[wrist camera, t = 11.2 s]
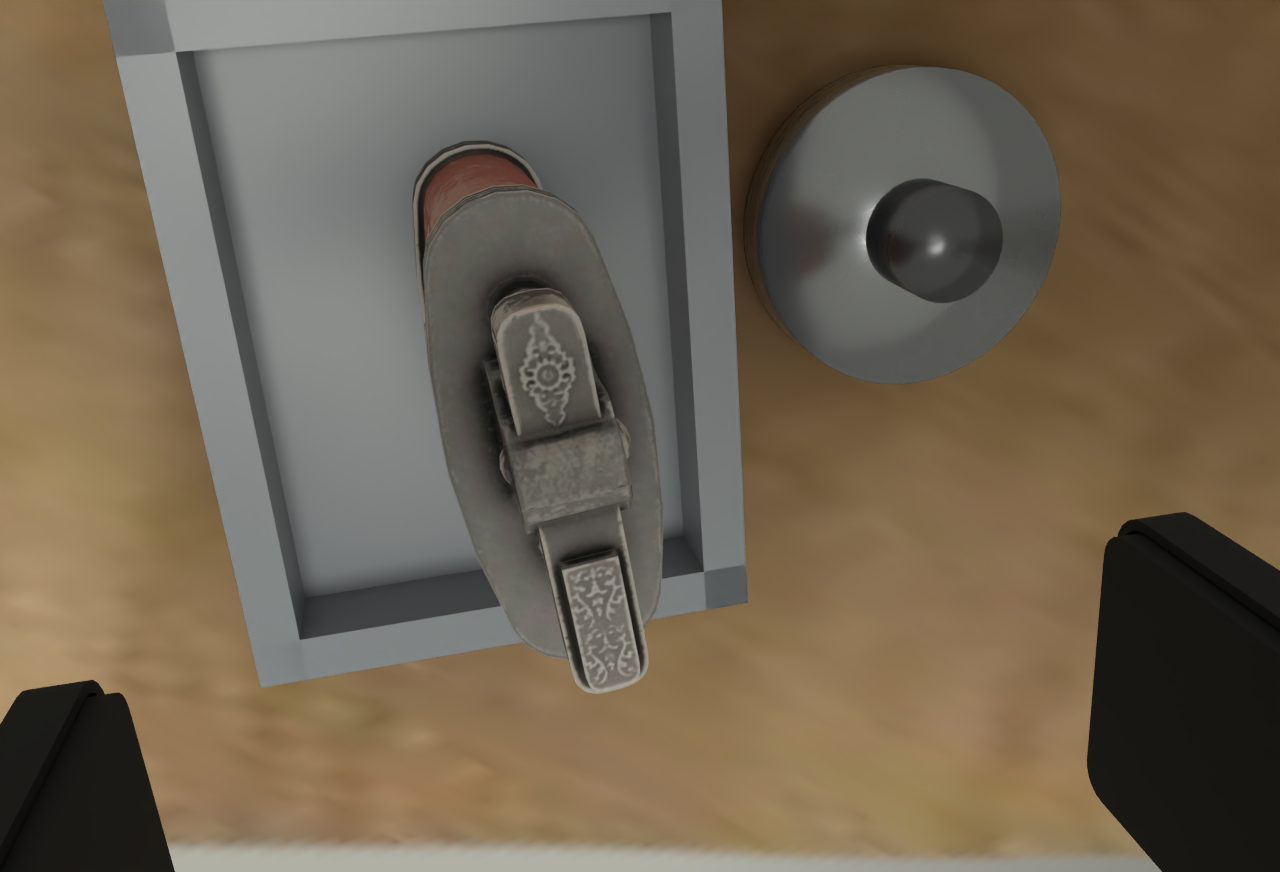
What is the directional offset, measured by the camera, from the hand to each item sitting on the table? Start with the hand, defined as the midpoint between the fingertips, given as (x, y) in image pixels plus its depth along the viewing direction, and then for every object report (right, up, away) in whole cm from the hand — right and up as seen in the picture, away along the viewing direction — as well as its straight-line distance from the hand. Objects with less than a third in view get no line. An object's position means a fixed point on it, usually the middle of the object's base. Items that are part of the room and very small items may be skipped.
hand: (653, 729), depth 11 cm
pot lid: (+6, +8, +16) cm, 18 cm away
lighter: (-3, +5, +14) cm, 16 cm away
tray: (-4, +5, +14) cm, 16 cm away
